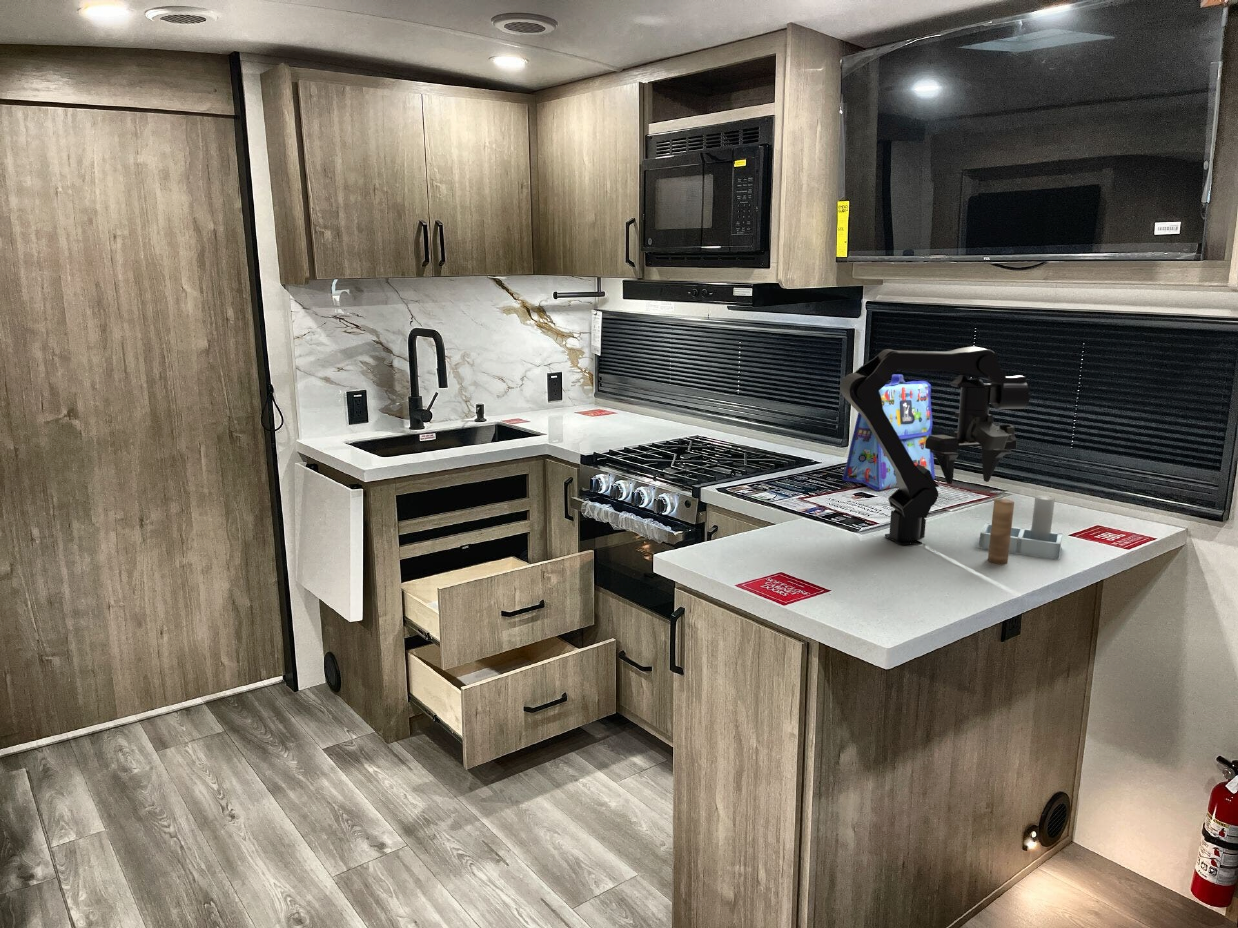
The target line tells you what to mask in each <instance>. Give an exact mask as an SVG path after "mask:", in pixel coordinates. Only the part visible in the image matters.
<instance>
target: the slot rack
mask: <svg viewBox="0 0 1238 928" xmlns="http://www.w3.org/2000/svg"><path fill="white" fill-rule="evenodd" d="M991 525H992V523H987V522H985V523H984V525H983V527H982V529H981V531H980V533H979V545H978V547H977V548H978V549H982V550H989V544H990V535H991ZM1030 536H1031V529H1030V528H1023V527H1017V526H1016V527H1015V526H1012V528H1011V537H1010V545H1009V553H1010V554H1016V555H1023V556H1029V557H1037V558H1043V559H1050V560H1055V561H1056V560H1057V561H1059V560H1060V556H1061V552H1062V542H1063V541H1062V539H1063V533H1059V532H1053V531H1051V534H1050V542H1048V541H1041V540H1034V539H1030Z"/></svg>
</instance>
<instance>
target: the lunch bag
mask: <svg viewBox="0 0 1238 928" xmlns="http://www.w3.org/2000/svg"><path fill="white" fill-rule="evenodd" d="M931 388H932V385H931V384H930V382H928V381H926V380H918V381H917V380H912V381H911V380H910V381H907V382H906V381H905V379H904V375H903V374H895V373H894V374H893V375H892V376H891V380H890V382H889V383H886V385H885V386H884V387H882V388H881V389H880V390H879V392H880V395H881V398H882V405H883V410H884V412H885V414H886V416H887V418H888V419H889V421H890V423H891V424H892V426H893V428H894V430H895V431H896V433H897V435H898V436H899V438H900V440H901V442H902V443H903V445H904V447H905V449H906V450H907V452H908V454H909V455H910V457H911V459H912V461H913V462H914V464H915V465H917V464H919V465H921V466H923V467H924V468H926V469H928V470H929V471H930V472H931V474H932V477H933V480H934V481H935V478H936V473H935V462H934V453H931V452H930V449H926V448H925V442H926V439H927V438H928V436H929V435H932V429H933V414H932V403H931V402H932V400H931V399H932V398H931V393H932V389H931ZM857 412H858V411H857ZM842 480H843V481H844V482H853V483H857V484H858V483H859V484H864V485H866V486H868V487H870V488H871V489H873V490H874V491H881V490H887V489H892V488H899V487H898V485H897V482H896V475H895V471H894V469H893V467H892V465H891V464H890V462H889V460H888V458H887V457H886V455H885V453H884V452H883V450H882V448H881V447H880V445H879V443H878V441H877V440H876V438H875V436H874V435H873V433H872V431H871V430H870V428H869V426H868V424H867V423H866V421H865V419H864V418H863V417H862V415H861V414H860V413H859V412H858V413H857V417H856V421H855V425H854V430H853V433H852V438H851V442H850V447H849V451H848V455H847V460H846V464H845V468H844V472H843V475H842Z"/></svg>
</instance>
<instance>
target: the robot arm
mask: <svg viewBox="0 0 1238 928" xmlns="http://www.w3.org/2000/svg"><path fill="white" fill-rule="evenodd" d="M902 370H903V371H932V372H933V371H935V372H937V371H939V372H953V373H959V374H960V375H958V376H957V377H956V378H955V379H954V380H953V381H951V383H950V386H951V387H955V388H960V395H959V397H960V398H959V406H958V407H959V409H958V411H957V412H956V411H955V412H954V418H958V421H957V431H953V433H952V436H951V435H950V436H949V435H946V434H931V435H929V436H928V438H927V439H926V442H925V448H926V449H930V452H931V453H933V456H935V458H936V460H937V461H938V464H939V467H940V469H941V471H942V474H943V476H944V479H945V482H946V483H947V485H952V483H953V480H954V471H955V470H954V469H955V461H956V459H957V458H958V456H959V455H960V453H958V452H957V451H958V450H959V448H967V447H968V448H969V447H981V463H982V465H981V466H982V467H981V468H982V479H983V481H984V482H985V483H989V482H990V480H991V478H992V476H993V474H994V471H995V469H996V467H997V465H998V464H999V462H1000V460H1001V459H1002V458H1003V457H1004V456H1005V455H1007V454H1010V453H1011V452H1012V450H1017V445H1018V439H1017V438H1016V436H1015V426H1014V425H1013V424H1011V423H1006V424H1004V423H1003V424H1002V425H996V424H995V423H994V416H993V414H989V413H990V404H991V406H992V408H994V409H996V410H998V409H999V410H1001V409H1002V410H1005V409H1007V410H1009V409H1011V410H1014V409H1015V410H1016V409H1017V410H1019V409H1020V410H1021V409H1025V408H1027V407H1028V405H1029V403H1030V399H1031V393H1030V390H1029V389H1030V387H1029V386H1028V383H1027V377H1026V376H1023V375H1013V376H1006V375H1005V374H1004V372H1003V370H1002V369H1001V367H1000V366H999V358H998V356H997V354H996V352H994V351H993V350H991V349H987V348H984V347H978V346H967V347H961V348H959V347H958V348H956V349H952V350H947V351H937V350H934V351H932V350H931V351H930V350H929V351H928V350H927V351H926V350H894V349H891V348H888V349H883V350H882V351H880V352H879V353H878V354H877V355H876V356H875V357H873V359H870V360H869V361H867V362H865V364H863V365H861V366H860V367H859V368H857V370H855V372H851V373H849V374H846V375H845V376H844V377H843V379H842V380H841V382H840V386H839V390H840V393H841V395H842V396H843V397H844V399H845V400H846V401H847V402H848V403H849V404H850V405H851V406H852V408H853V409H854V410H855V411H857V412H859V413H860V414H861V415H862V417H863V418H864V419H865V421H866V423H867V424H868V426H869V428H870V430H871V431H872V433H873V435H874V436H875V438H876V440H877V441H878V443H879V445H880V447H881V448H882V450H883V452H884V453H885V455H886V457H887V458H888V460H889V462H890V464H891V465H892V467H893V469H894V471H895V475H896V482H897V485H898V487H897V490H896V491H894V492H893V493H892V494H890V496H889V497H888V499H887V500H888V504H889V506H890V507H891V508H893V509H894V510H890V523H889V531H888V532H889V533H885V534H884V537H885V538H887V539H889V540H890V541H893V542H894V543H897V544H898V545H900V546H908V545H919V544H923V542H922V541H920V539H923V538H925V536H926V526H927V525H926V524H927V519H926V518H927V517H928V515H929V513H930V511H931V508H932V507H933V506H934V505H935V504H936V502H937V500H938V498H939V490H938V487H940V485H939V484H938V483H936V481H935V479H934V480H933V477H932V474H931V472H930V471H929V470H928V469H926V468H924V467H923V466H921V465H919V464H917V465H915V464H914V462H913V461H912V459H911V457H910V455H909V454H908V452H907V450H906V449H905V447H904V445H903V443H902V442H901V440H900V438H899V436H898V435H897V433H896V431H895V430H894V428H893V426H892V424H891V423H890V421H889V419H888V418H887V416H886V414H885V412H884V410H883V405H882V398H881V395H880V392H879V390H880V389H881V388H882V387H884V386H885V385H886V384H888V381H890V379H892V375H893V374H895V373H896V372H897V371H902ZM966 375H968V376H972V377H976V378H967V376H966ZM982 379H983V380H987V381H990V383H989V382H988V383H985V382H983V380H982Z"/></svg>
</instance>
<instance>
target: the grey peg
mask: <svg viewBox="0 0 1238 928" xmlns="http://www.w3.org/2000/svg"><path fill="white" fill-rule="evenodd" d="M1055 501H1056V499H1055V498H1054V497H1053V496H1049V495H1036V496H1034V502H1033V503H1034V504H1033V513H1032V518H1031V519H1032V520H1031V536H1030V539H1034V540H1041V541H1048V542H1050V534H1051V532H1052V525H1053V518H1054V517H1053V516H1054V509H1055Z"/></svg>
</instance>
